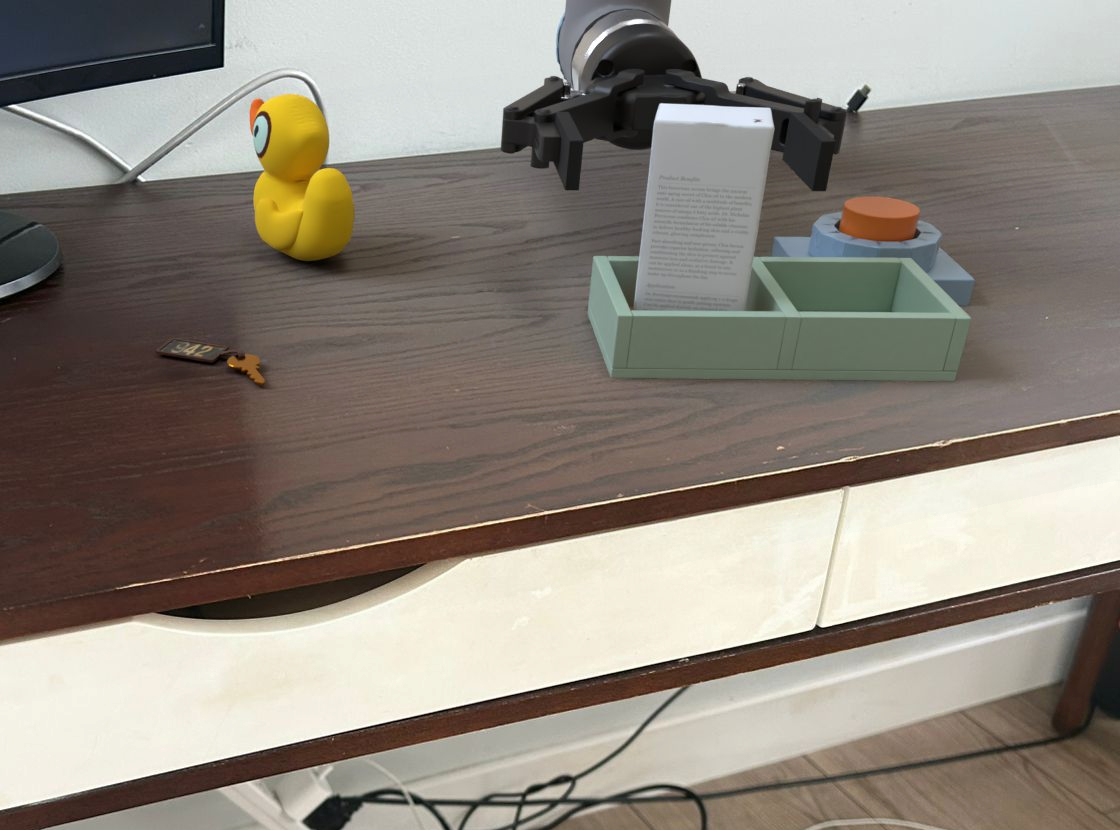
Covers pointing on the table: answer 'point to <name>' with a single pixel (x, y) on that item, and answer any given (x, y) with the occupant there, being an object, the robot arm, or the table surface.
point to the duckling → (298, 181)
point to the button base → (882, 252)
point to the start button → (879, 219)
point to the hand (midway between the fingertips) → (699, 166)
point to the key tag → (213, 355)
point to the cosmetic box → (702, 207)
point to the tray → (787, 324)
